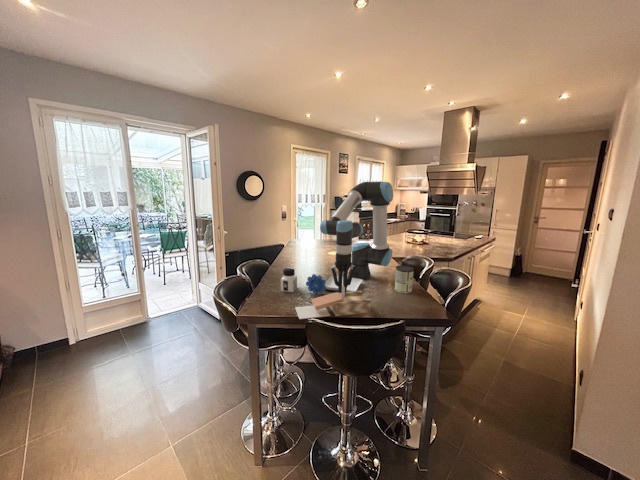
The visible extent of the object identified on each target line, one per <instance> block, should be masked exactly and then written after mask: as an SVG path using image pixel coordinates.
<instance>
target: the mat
mask: <svg viewBox="0 0 640 480" xmlns="http://www.w3.org/2000/svg"><path fill="white" fill-rule="evenodd" d="M294 308H295V311H296V314H297V317H298V319H299V320H305V319H315V318H324V317H330V316H331V314H330V312H329V311H328V308H327V307H326V308H323V309H319V310H315V308H314V306H313V305H304V306H296V307H294Z"/></svg>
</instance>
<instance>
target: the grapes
mask: <svg viewBox="0 0 640 480" xmlns="http://www.w3.org/2000/svg"><path fill="white" fill-rule="evenodd" d="M306 279H307V281H306V283H305V285H306V287H308V288H307V290H308V292H312V293H313V294H314V295H317V294H323V292H324V290H327V289H326V286H325V285H324V284H325V283H326V281H327V280H325V279H324V278H323V277H322V276H321V275H316V274H315V273H313V274H312V275H311V276H308V277H307V278H306Z"/></svg>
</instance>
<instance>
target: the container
mask: <svg viewBox="0 0 640 480" xmlns="http://www.w3.org/2000/svg"><path fill="white" fill-rule="evenodd" d="M295 271H296V270H295V269H294V268H293V267H285V268H284V269H283V274H282V275H283V276H282V277H281V278H280V291H281V292H283V293H284V292H285V293H294V292H295V290H297V288H298V277H297V275H295V273H296V272H295Z"/></svg>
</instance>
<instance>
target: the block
mask: <svg viewBox="0 0 640 480" xmlns="http://www.w3.org/2000/svg"><path fill="white" fill-rule="evenodd" d="M331 293H332V294H330V293H328V294H325V295H321V296H317V297H314V298H311V299H310V300H311V305H312V306H314V308H315V310H319V309H323V308H326V309H327V308H330V306H333V305H335V302H343V298H342V297H341V296H340V295H339V291H335V292H331Z"/></svg>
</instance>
